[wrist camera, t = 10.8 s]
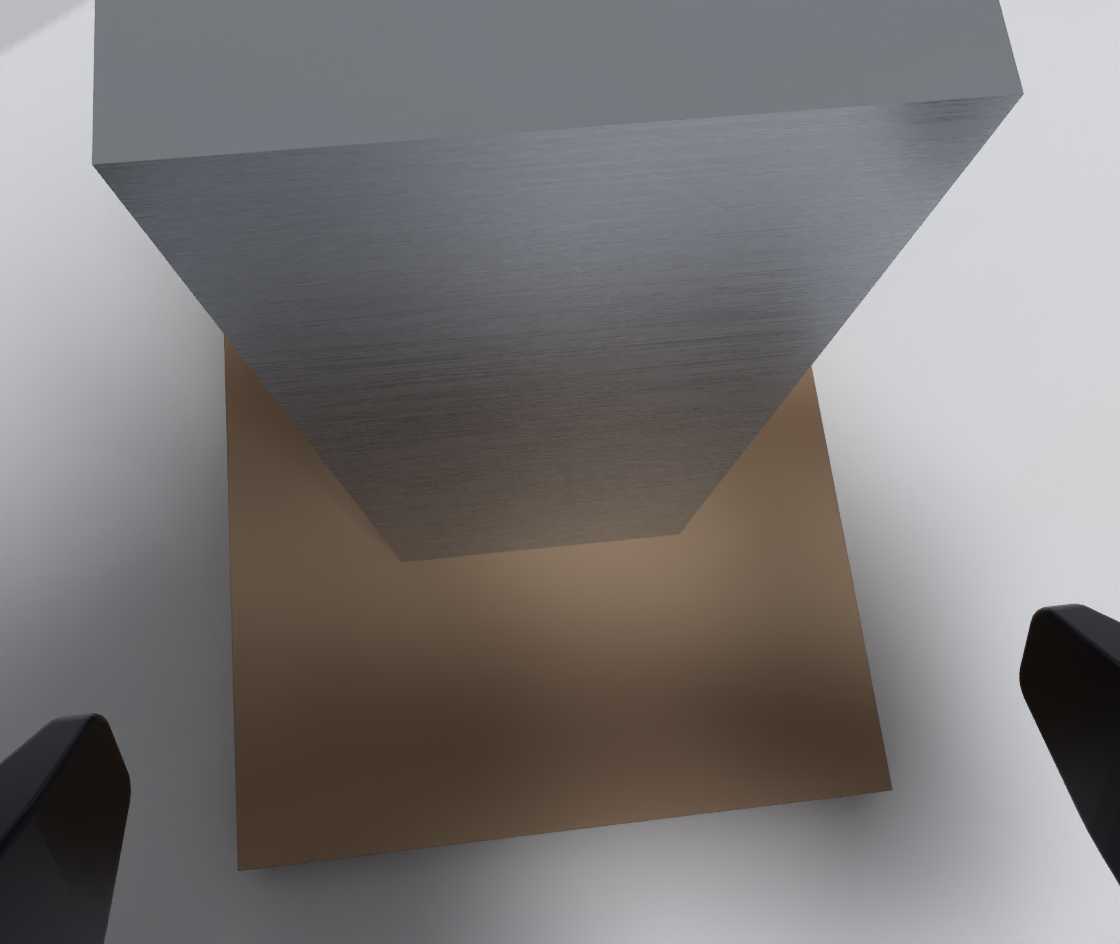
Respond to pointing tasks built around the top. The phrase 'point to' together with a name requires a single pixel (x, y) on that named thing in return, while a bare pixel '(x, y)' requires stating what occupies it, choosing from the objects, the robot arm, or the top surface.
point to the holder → (535, 659)
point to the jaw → (537, 225)
